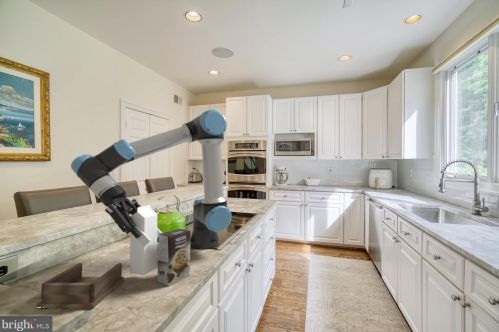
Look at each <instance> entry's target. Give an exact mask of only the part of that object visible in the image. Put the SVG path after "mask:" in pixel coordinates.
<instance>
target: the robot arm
mask: <svg viewBox="0 0 499 332" xmlns="http://www.w3.org/2000/svg"><path fill="white" fill-rule="evenodd" d="M227 127H228V121H227V118H226V117H225V115H224V114H223V113H222V112H221V111H220V110H217V109H208V110H205V111H203V112H201V114H199V115H198V116H196V117H194V119H192V120H191V121H188V122H185V123H182V124H181V126H179V127H176V128H174V129H170V130H167V131H164V132H161V133H157V134H154V135H152V136H148V137H145V138H141V139H139V140H135V141H132V142H128V141H127V140H126V139H124V138H123V139H122V138H121V139H120V140H118V141H115V142H113V144H112V145H110V146H109V147H107V148H105V149H104V150H102V151H101V152H99V153H98V154H96V155H94V156H93V155H91V154H89V153H87V154H86V153H85V154H82V155H79V156H76V157H75V158H74V159H73V160H72V162H71V164H70V168H71V170H72V171H73V172H74V173H75V175H76V176H77V178H79V179H80V180H81V181H82V183H83V184H85V186H86V187H88V189H89V190H90V191H92V193H93V195H95V196H96V197H97V198H98V199H99V201H100V202H101V203H102V204H103V205H104V206H105V209H104V211H105V213H106V214H108V215H109V216H110V217H111V219H112V221H114V222H115V224H116V226H118V228H119V229H120V230H121V232H123V233H125V234H127V235H129V234H130V232H131V233H132V235H134V237H135V238H137V239H138V241H139V242H140V243H141V244H142V245H143V246H144V247H145V246H146V245H147V244H148V243H149V242H150V241H151V239H150V238H149V237H148V236H147V235H146V234H145V233H144V232H143V231H142V230H141V229H140V228H139V227H138V226H136V227H135V224H134V223H133V221H132V219H131V216H132V215H133V214H135V213H136V212H137V208H138V207H142V206H143V205H140V204H139V203H138V201H137V199H135V198H133V199H132V200H130V199H129V198H127V191H126V190H125V189H124V188H123V187H122V186H121V185H120V184H119V183H118V181H116V180H115V178H114V177H113V176H112V175H111V174H110V173H113V171H115V170H116V169H118V168H119V167H121V166H122V165H123V166H124V165H125V164H128V163H130V162H133V161H136V160H138V159H139V160H140V159H141V158H144V157H147V156H150V155H153V154H155V153H158V152H161V151H164V150H167V149H169V148H170V149H171V148H173V147H177V146H178V145H181V144H184V143H189V144H191V143H193V142H198V143H199V144H200V145H201V155H202V175H203V177H202V178H203V192H204V193H203V195H204V197H203V198H202V199H199V198H198V199H197V198H196V199H195V200H194V201H193V204H192V208H193V210H192V211H193V213H192V214H193V215H192V217H193V218H192V219H193V220H192V231H191V233H190V248H193V249H199V250H205V249H206V250H207V249H213V248H215V247H218V246H219V245H220V236H219V233H218V232H223V231H224V230H226V229H227V228H228V227H229V225H230V224H231V222H232V216H233V215H232V212H231V211H230V208H228V199H227V198H226V197H225V196H224V186H223V185H224V184H223V163H222V162H223V161H222V144H223V142H224V141H225V136H224V134H225V132H226V130H227ZM161 233H163V232H162V231H161V230H160V229H159V228H158V227H157V239H159V234H161Z"/></svg>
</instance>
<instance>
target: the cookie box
mask: <svg viewBox="0 0 499 332" xmlns="http://www.w3.org/2000/svg"><path fill="white" fill-rule="evenodd" d="M191 233H192V231H191V230H189V229H183V228H176V229H174V230H169V231H165V232H162V233H161V234H159V237H158V246H157V282H158V283H161V284H163V285H165V286H167V287H171V286H172V285H175V284H176V283H178V282H179V281H182V280H183V279H185V278H187V277H189V276H190V274H191V273H190V272H191V271H190V270H191V268H190V267H191V264H190V263H191V247H190V237H191Z"/></svg>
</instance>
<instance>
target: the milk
mask: <svg viewBox="0 0 499 332" xmlns="http://www.w3.org/2000/svg"><path fill="white" fill-rule="evenodd" d="M141 206H142V207H138V208H137V212H136V213H135V214H133V215H130V217H131V219H132V221H133V223H134V224H135V227H136V226H138V227H139V228H140V229H141V230H142V231H143V232H144V233H145V234H146V235H147V236H148V237H149V238H150V239H151V241H150V242H149V243H148V244H147V245H146V246H145V247H144V246H143V245H142V244H141V243H140V242H139V241H138V239H137V238H135V237H134V235H132V233H131V232H130V233H129V234H130V236H129V237H130V238H129V240H130V241H129V244H130V245H129V247H130V249H129V253H130V254H129V273H131V274H132V273H133V274H136V275H137V274H138V275H141V276H144V275H146V274H148V273H150V272H152V271H153V270H155V269H156V268H157V269H158V238H157V228H158V213H157V212H155V211H154V210H153V209H152V205H151V204H147V205H141Z"/></svg>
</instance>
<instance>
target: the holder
mask: <svg viewBox="0 0 499 332" xmlns="http://www.w3.org/2000/svg"><path fill="white" fill-rule="evenodd" d="M122 274H123V263H122V262H118V263H116V265H114V266H113V267H111V268H110V269H109V270H108V271H106V272H104V273H103V274H102V275H100V276H83V262H78V263H76V264H74V265H73V266H71V267H68V269H66V270H63V271H62V272H59V273H58V274H57V275H54V276H53V277H52V278H49V279H48V280H46V281H44V282H43V283H41V290H40V291H41V293H40V295H41V296H40V298H41V299H40V302H38V303H36V308H37V307H41V308H43V307H44V308H76V309H75V310H87V309H88V310H89V309H91V310H92V309H94V308H96V307H97V306H98V305H99V304H101V302H102V301H103V300H104V299H105V298H106V297H108V296H109V295H110V294H111V293H112V292H113V291H114V290H116V289H117V288H118V287H119V286H120V285H121V284H122V283H123V282H124V281H125V277H124V276H123V275H122Z"/></svg>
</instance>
